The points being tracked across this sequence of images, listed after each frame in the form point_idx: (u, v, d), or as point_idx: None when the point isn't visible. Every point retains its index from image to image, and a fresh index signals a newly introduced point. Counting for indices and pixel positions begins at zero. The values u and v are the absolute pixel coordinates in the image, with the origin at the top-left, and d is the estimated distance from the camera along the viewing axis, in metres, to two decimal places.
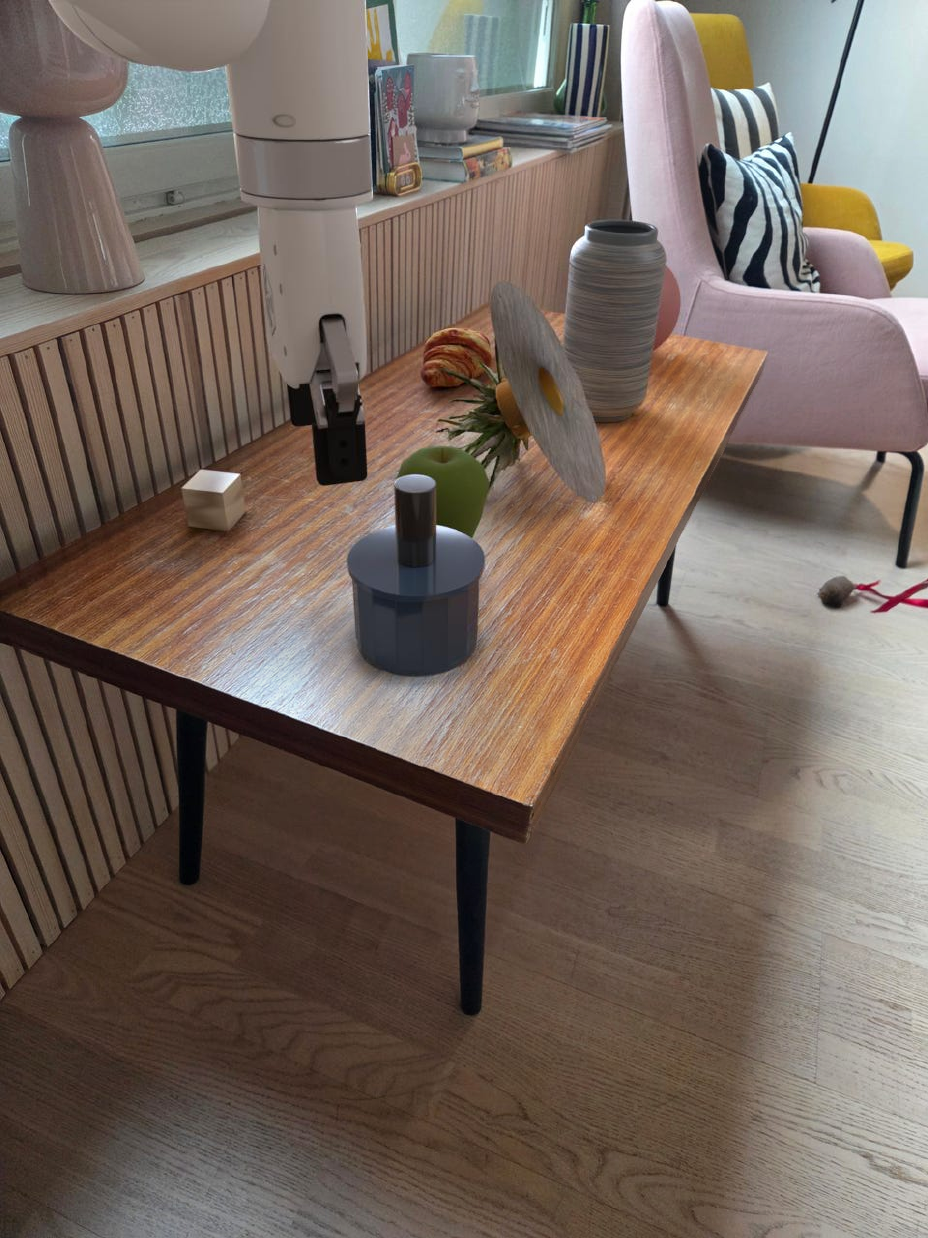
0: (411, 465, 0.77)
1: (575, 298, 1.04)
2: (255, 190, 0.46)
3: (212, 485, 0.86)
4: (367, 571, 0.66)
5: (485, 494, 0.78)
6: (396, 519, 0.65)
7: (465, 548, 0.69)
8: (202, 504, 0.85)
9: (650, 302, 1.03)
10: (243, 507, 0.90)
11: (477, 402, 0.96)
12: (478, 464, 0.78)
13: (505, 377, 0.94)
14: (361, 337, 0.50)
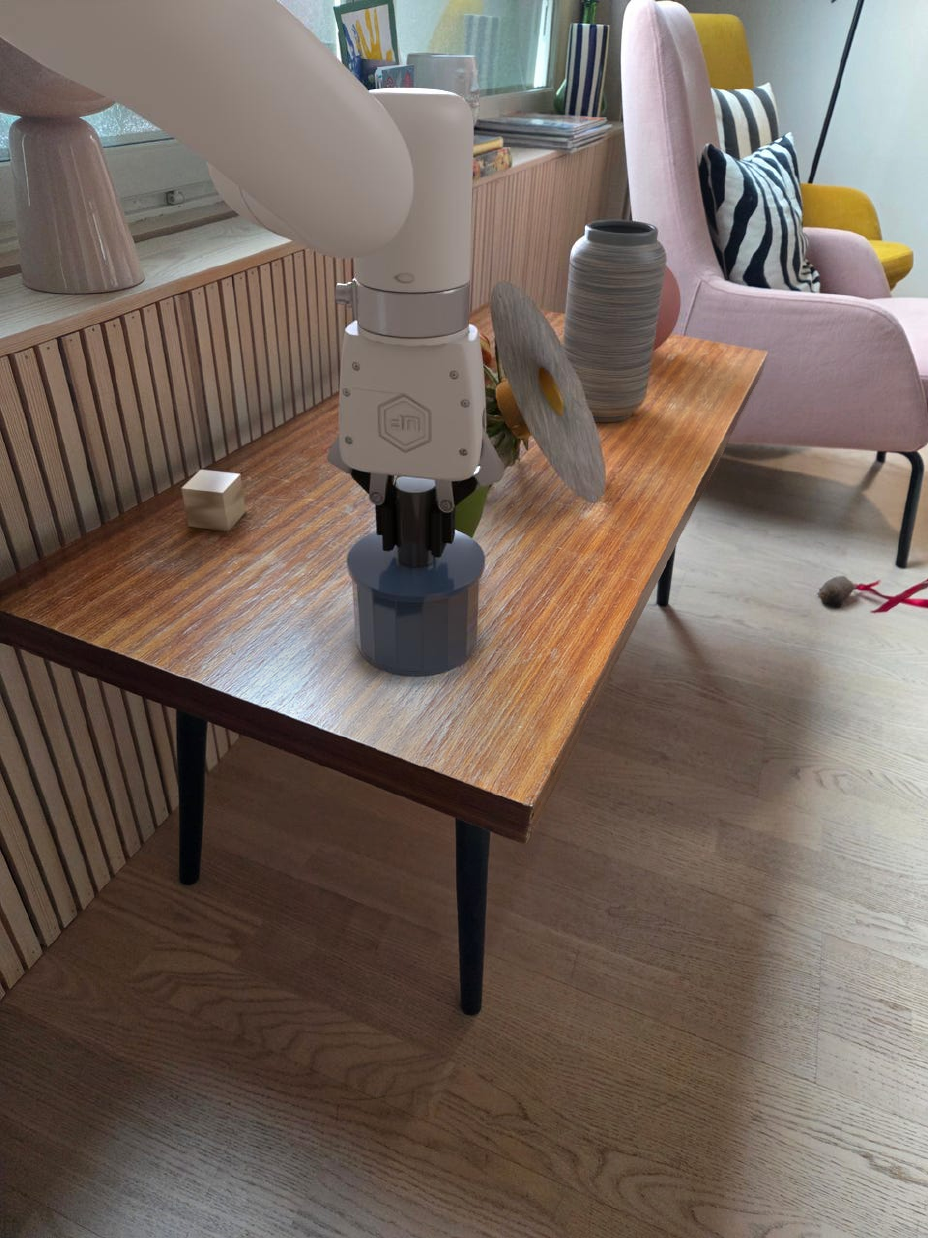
0: None
1: (575, 298, 1.04)
2: (431, 333, 0.54)
3: (212, 485, 0.86)
4: (367, 571, 0.66)
5: (485, 494, 0.78)
6: (396, 519, 0.65)
7: (465, 548, 0.69)
8: (202, 504, 0.85)
9: (650, 302, 1.03)
10: (243, 507, 0.90)
11: None
12: None
13: (505, 377, 0.94)
14: None
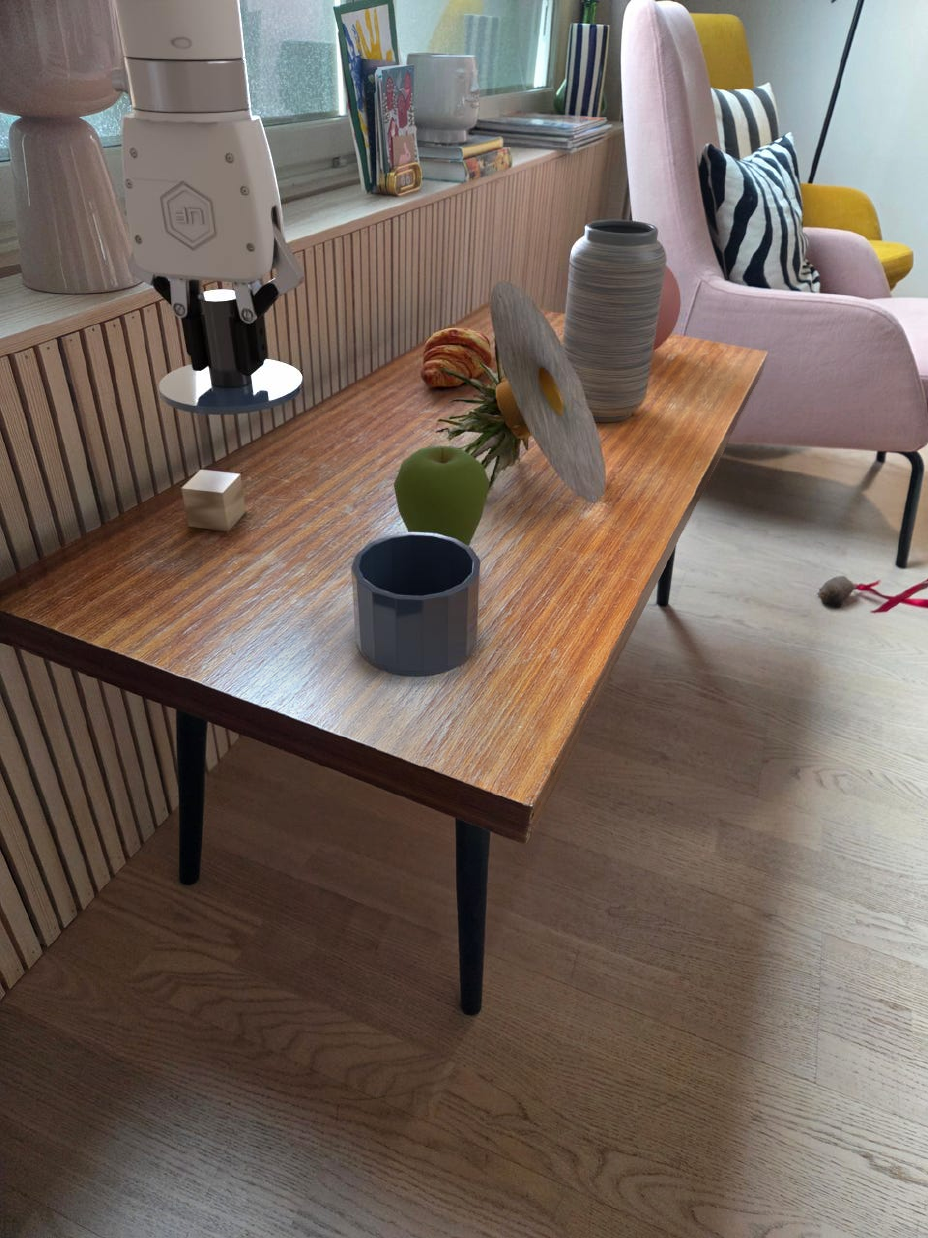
0: (411, 465, 0.77)
1: (575, 298, 1.04)
2: (199, 108, 0.53)
3: (212, 485, 0.86)
4: (176, 390, 0.65)
5: (485, 494, 0.78)
6: (203, 334, 0.64)
7: (284, 374, 0.68)
8: (202, 504, 0.85)
9: (650, 302, 1.03)
10: (243, 507, 0.90)
11: (477, 402, 0.96)
12: (478, 464, 0.78)
13: (505, 377, 0.94)
14: (283, 224, 0.61)
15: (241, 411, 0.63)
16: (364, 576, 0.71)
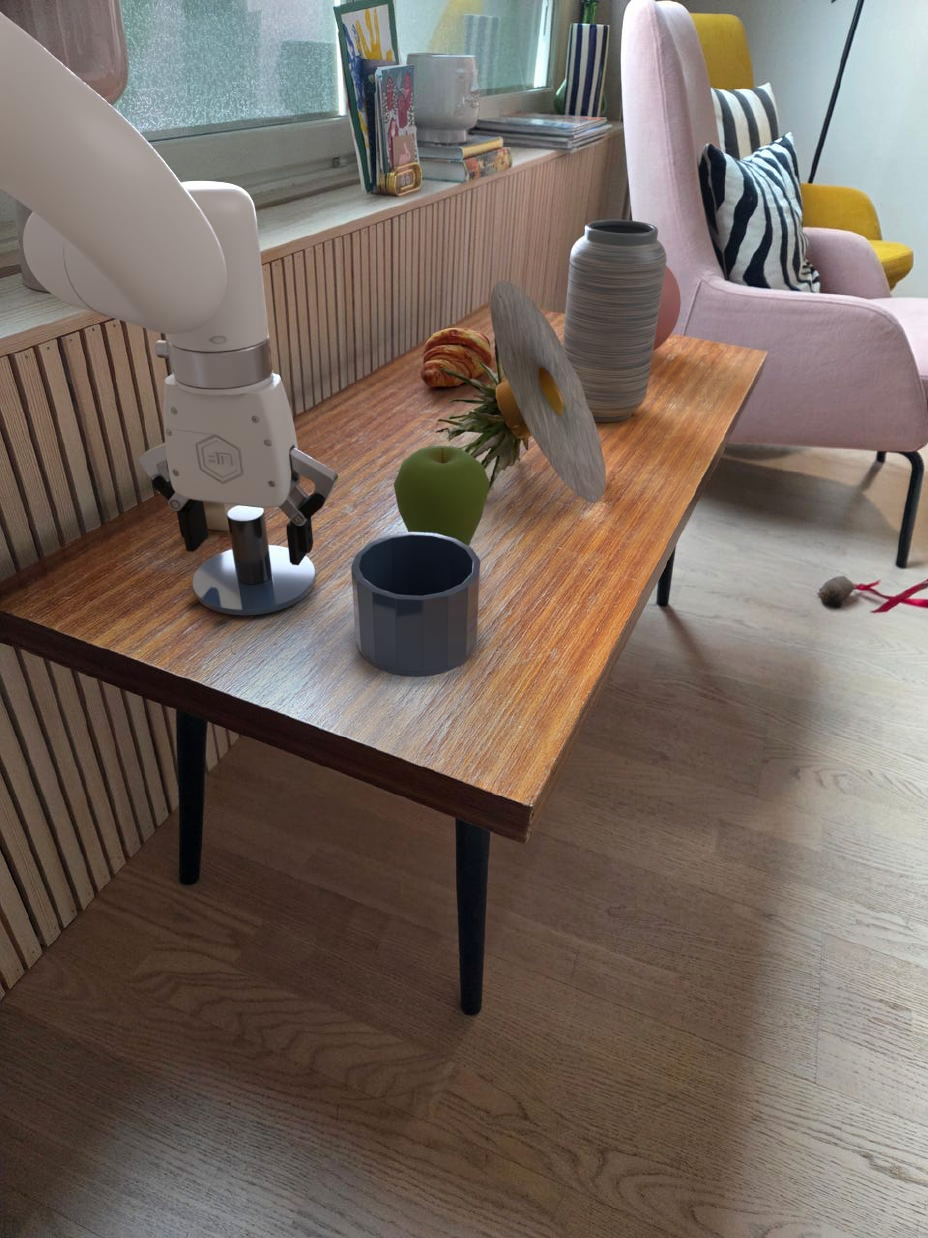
0: (411, 465, 0.77)
1: (575, 298, 1.04)
2: (230, 385, 0.64)
3: None
4: (208, 588, 0.76)
5: (485, 494, 0.78)
6: (231, 543, 0.75)
7: (300, 567, 0.79)
8: None
9: (650, 302, 1.03)
10: None
11: (477, 402, 0.96)
12: (478, 464, 0.78)
13: (505, 377, 0.94)
14: None
15: (264, 612, 0.74)
16: (364, 576, 0.71)
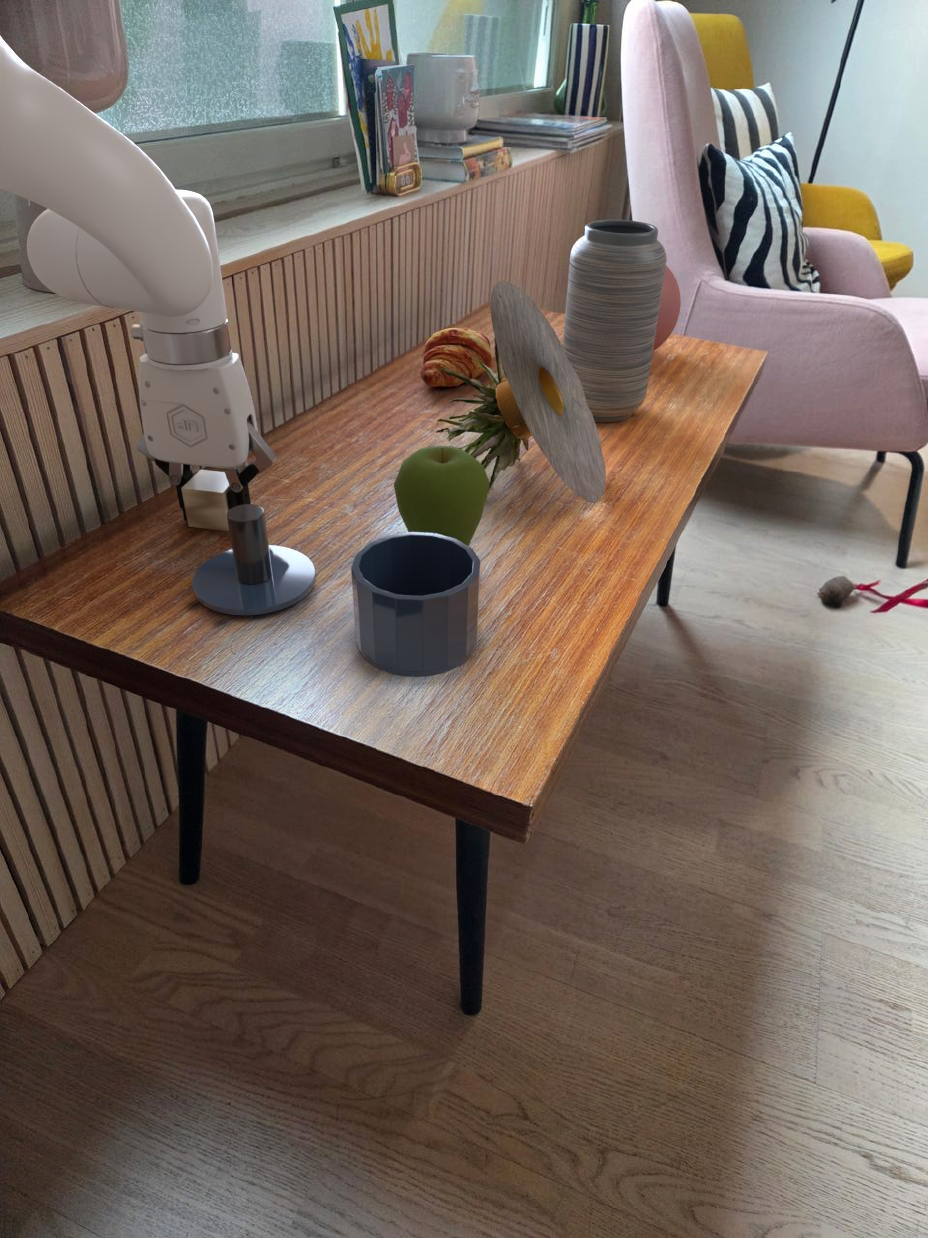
0: (411, 465, 0.77)
1: (575, 298, 1.04)
2: (194, 361, 0.76)
3: (212, 485, 0.86)
4: (208, 588, 0.76)
5: (485, 494, 0.78)
6: (231, 543, 0.75)
7: (300, 567, 0.79)
8: (202, 504, 0.85)
9: (650, 302, 1.03)
10: None
11: (477, 402, 0.96)
12: (478, 464, 0.78)
13: (505, 377, 0.94)
14: (256, 423, 0.83)
15: (264, 612, 0.74)
16: (364, 576, 0.71)
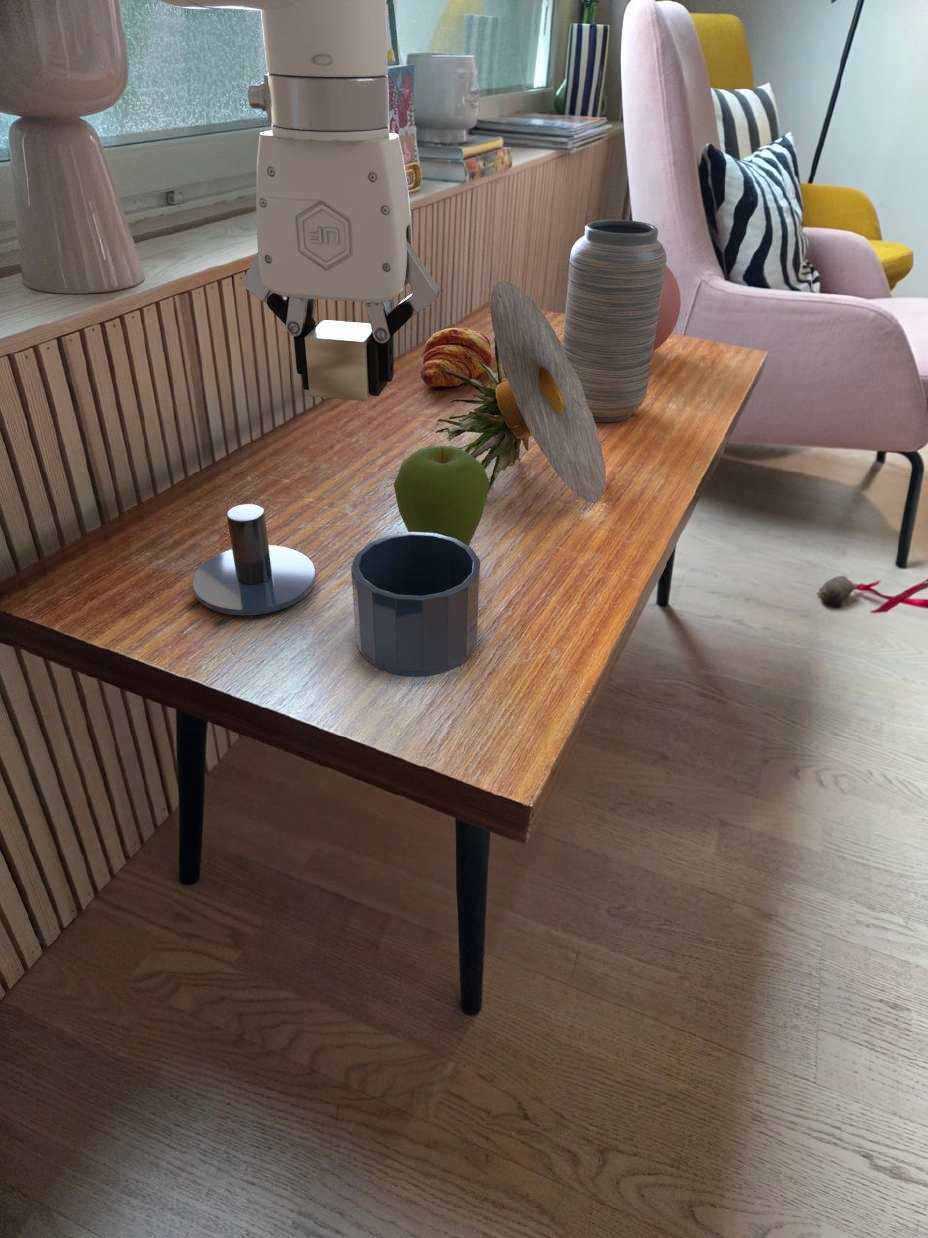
0: (411, 465, 0.77)
1: (575, 298, 1.04)
2: (346, 126, 0.52)
3: (346, 334, 0.62)
4: (208, 588, 0.76)
5: (485, 494, 0.78)
6: (231, 543, 0.75)
7: (300, 567, 0.79)
8: (332, 361, 0.62)
9: (650, 302, 1.03)
10: None
11: (477, 402, 0.96)
12: (478, 464, 0.78)
13: (505, 377, 0.94)
14: (412, 243, 0.60)
15: (264, 612, 0.74)
16: (364, 576, 0.71)
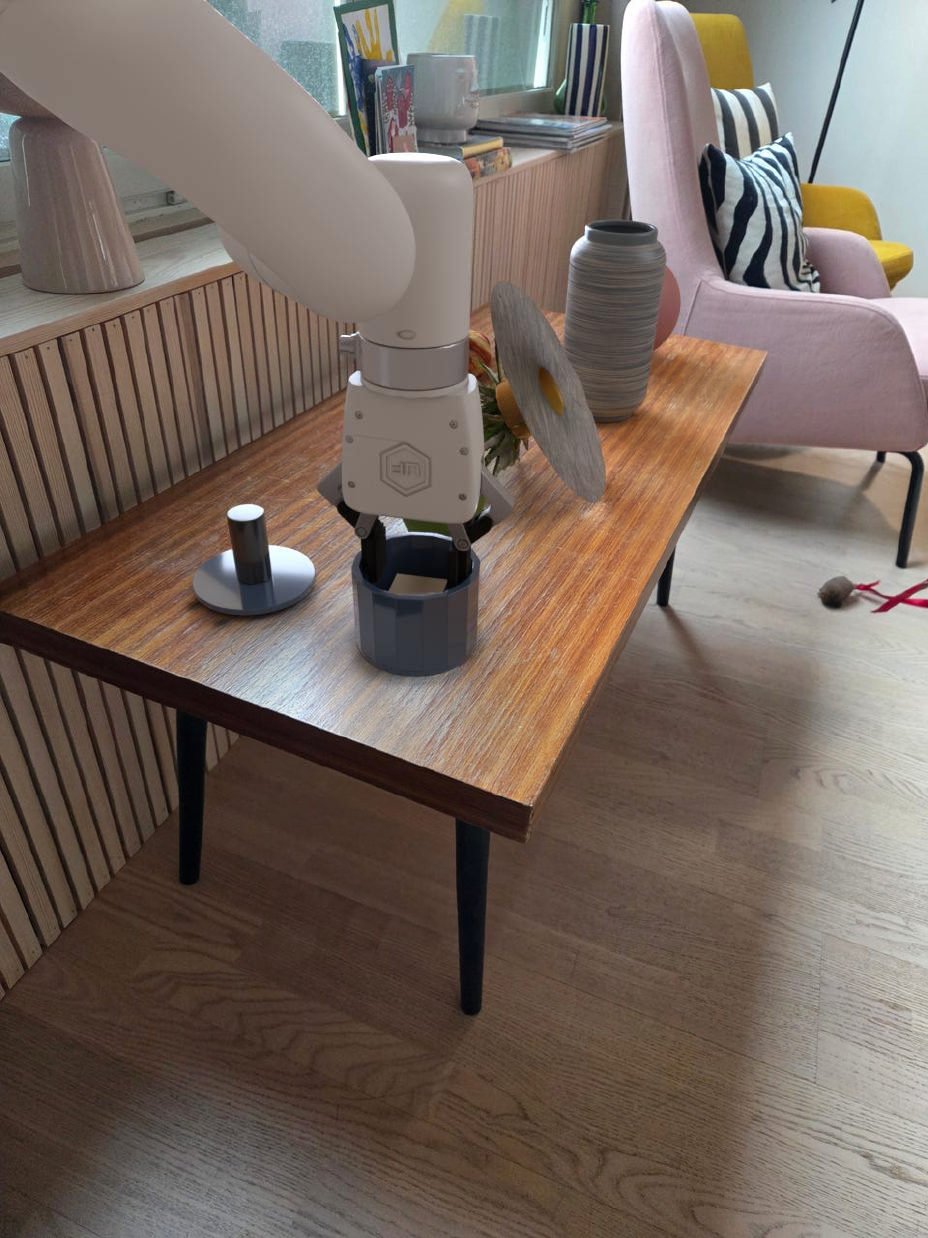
0: None
1: (575, 298, 1.04)
2: (432, 386, 0.56)
3: None
4: (208, 588, 0.76)
5: None
6: (231, 543, 0.75)
7: (300, 567, 0.79)
8: None
9: (650, 302, 1.03)
10: None
11: None
12: None
13: (505, 377, 0.94)
14: (484, 464, 0.64)
15: (264, 612, 0.74)
16: (364, 576, 0.71)
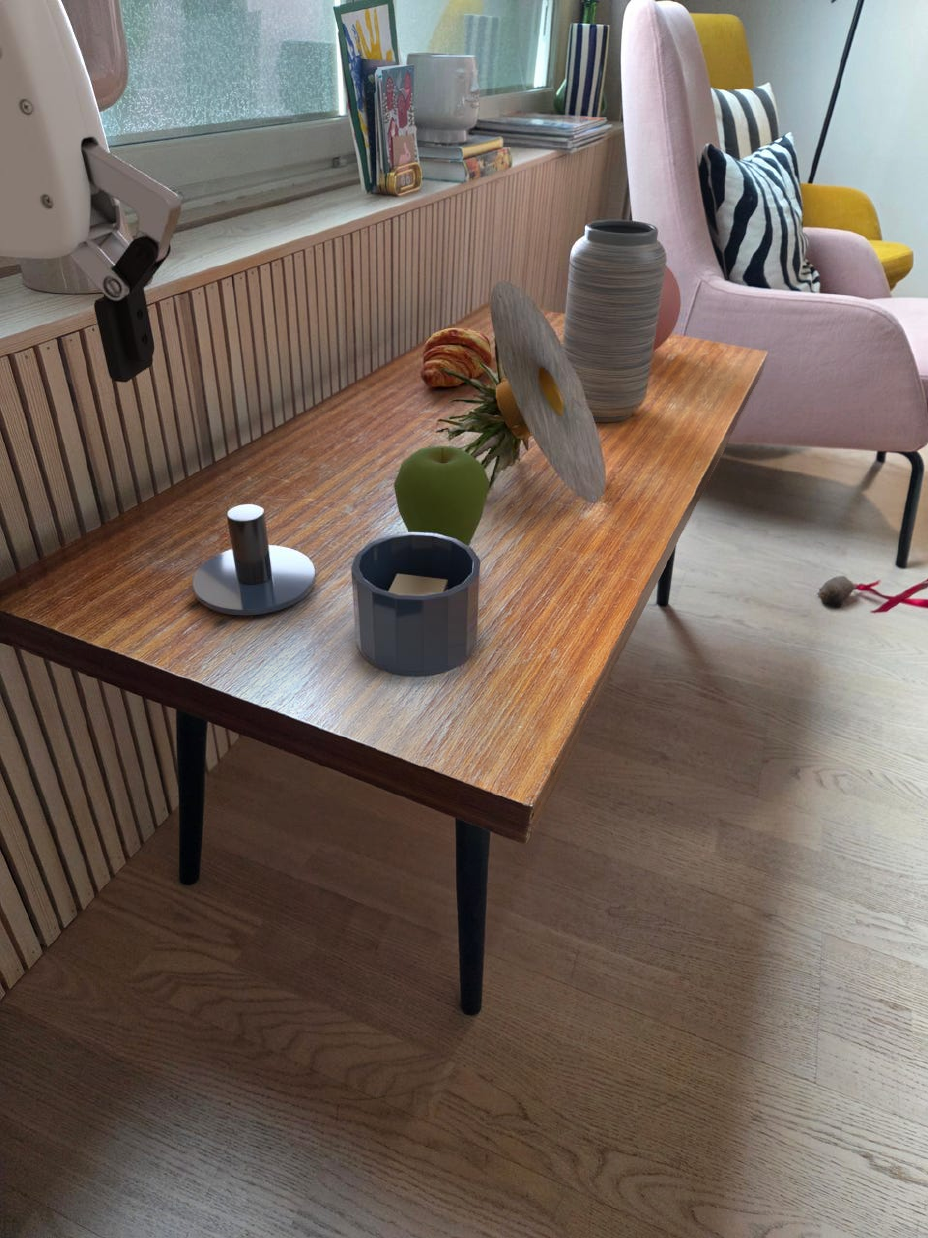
0: (411, 465, 0.77)
1: (575, 298, 1.04)
2: None
3: None
4: (208, 588, 0.76)
5: (485, 494, 0.78)
6: (231, 543, 0.75)
7: (300, 567, 0.79)
8: None
9: (650, 302, 1.03)
10: None
11: (477, 402, 0.96)
12: (478, 464, 0.78)
13: (505, 377, 0.94)
14: None
15: (264, 612, 0.74)
16: (364, 576, 0.71)
